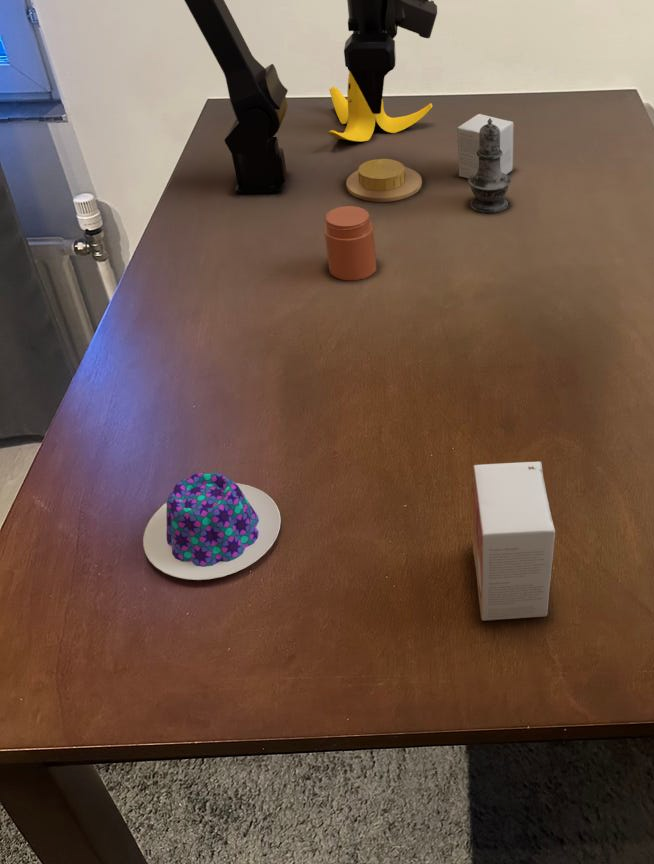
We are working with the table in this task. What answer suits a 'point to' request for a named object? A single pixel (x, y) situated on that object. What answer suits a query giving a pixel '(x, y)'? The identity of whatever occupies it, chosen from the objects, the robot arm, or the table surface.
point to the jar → (350, 243)
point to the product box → (470, 144)
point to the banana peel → (366, 115)
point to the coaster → (404, 191)
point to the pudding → (211, 528)
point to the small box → (512, 540)
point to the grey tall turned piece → (489, 173)
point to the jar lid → (381, 174)
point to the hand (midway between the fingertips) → (377, 100)
